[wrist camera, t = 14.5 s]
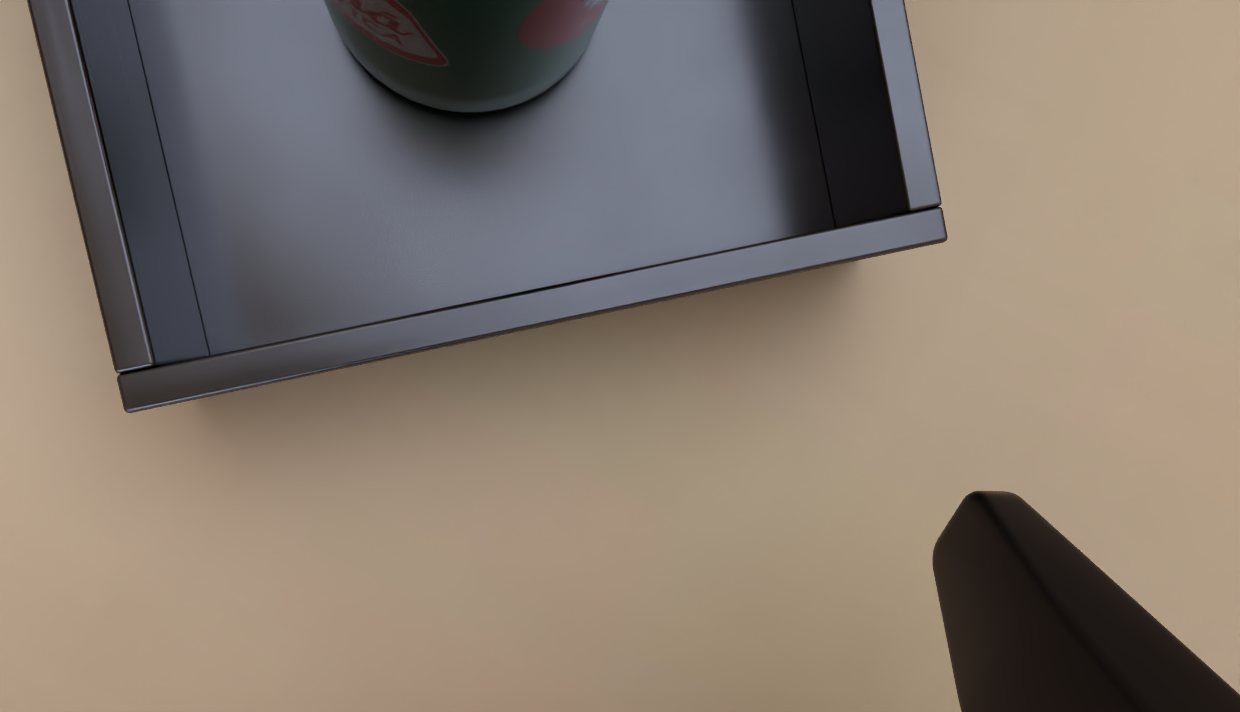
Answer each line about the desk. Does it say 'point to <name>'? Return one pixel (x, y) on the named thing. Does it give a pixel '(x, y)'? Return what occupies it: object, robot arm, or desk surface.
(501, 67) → the soda can
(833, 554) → the desk surface
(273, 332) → the black tray
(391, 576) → the desk surface
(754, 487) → the desk surface
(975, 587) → the robot arm
